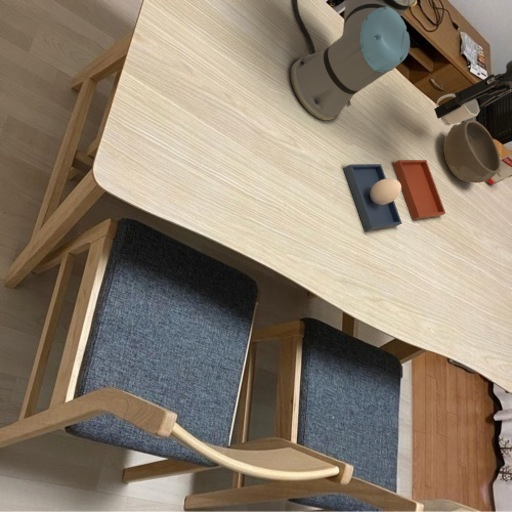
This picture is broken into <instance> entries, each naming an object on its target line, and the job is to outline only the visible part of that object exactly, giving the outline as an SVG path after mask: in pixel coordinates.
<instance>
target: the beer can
mask: <svg viewBox="0 0 512 512" xmlns="http://www.w3.org/2000/svg"><path fill="white" fill-rule="evenodd" d="M500 163H501V166H500V170H499V171H498V172H497V173H496V174H495V175H494V176H493V177H492V178H490V179H489V180H487V181H485V182H486V183H487V184H490V185H495V184H497V183H499V182H502V181H505V180H507V179H509V178H511V177H512V153H510V154H507V155H506V156H504V157H500Z"/></svg>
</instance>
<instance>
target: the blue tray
mask: <svg viewBox="0 0 512 512" xmlns="http://www.w3.org/2000/svg"><path fill="white" fill-rule="evenodd" d="M343 171H344V174H345V177H346V180H347V183H348V186H349V189H350V191H351V194H352V197H353V200H354V203H355V206H356V209H357V212H358V215H359V218H360V221H361V224H362V227H363V229H364V232H368V231H377V230H382V229H388V228H395V227H398V226H401V225H402V224H403V223H402V219H401V217H400V214H399V211H398V208H397V206H396V202H395V200H394V201H392V202H390V203H388V204H384V205H380V204H376V203H374V202H373V201H372V200H371V198H370V191H371V188H372V187H373V185H374V184H375V183H377V182H378V181H380V180H383V179H387V178H386V175H385V174H386V173H385V171H384V169H383V166H382V164H381V163H366V164H365V163H362V164H361V163H360V164H349V165H347V166H345V167H343Z"/></svg>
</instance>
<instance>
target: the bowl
mask: <svg viewBox="0 0 512 512" xmlns="http://www.w3.org/2000/svg"><path fill="white" fill-rule="evenodd" d="M443 144H444V145H443V157H444V161H445V163H446V165H447V167H448V169H449V170H450V172H452V174H453V175H454V176H455V177H456V178H457V179H458V180H460V181H463V182H466V183H473V184H480V183H484V182H486V181H487V180H489V179H490V178H492V177H493V176H494V175H495V174H496V173H497V172H498V171H499V170H500V166H501V163H500V159H501V155H500V153H499V152H500V151H499V149H498V147H497V145H496V143H495V140H494V138H493V137H492V134H490V132H489V130H488V129H487V128H486V127H485V126H484V125H483V124H481V123H480V122H479V121H477V120H475V119H468V120H465V121H462V122H459V123H455V124H453V126H451V128H450V130H449V131H448V133H447V134H446V136H445V138H444V143H443Z"/></svg>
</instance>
